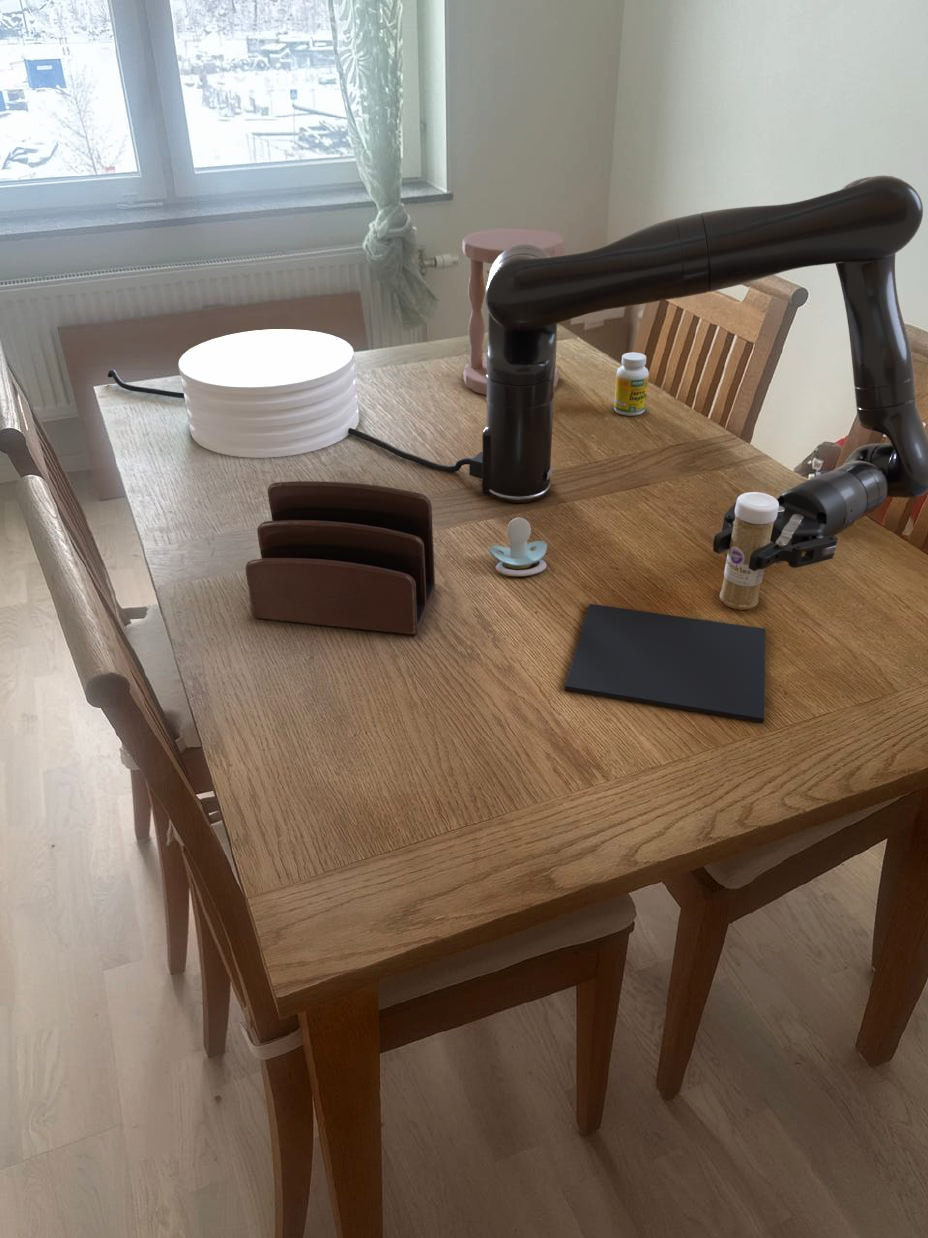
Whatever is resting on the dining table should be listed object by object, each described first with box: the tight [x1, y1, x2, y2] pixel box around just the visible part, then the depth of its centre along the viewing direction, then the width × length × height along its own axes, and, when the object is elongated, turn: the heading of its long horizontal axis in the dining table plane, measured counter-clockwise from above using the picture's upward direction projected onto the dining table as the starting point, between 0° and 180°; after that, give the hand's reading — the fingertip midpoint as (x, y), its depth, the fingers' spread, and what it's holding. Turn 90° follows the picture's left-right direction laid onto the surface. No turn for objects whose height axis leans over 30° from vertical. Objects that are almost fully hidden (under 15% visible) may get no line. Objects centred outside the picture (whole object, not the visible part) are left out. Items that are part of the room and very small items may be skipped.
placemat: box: [564, 603, 766, 724], centre depth 100 cm, size 20×16×1 cm
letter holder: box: [245, 480, 436, 636], centre depth 105 cm, size 10×20×14 cm, turn 79°
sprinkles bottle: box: [719, 491, 779, 611], centre depth 106 cm, size 5×5×14 cm
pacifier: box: [488, 517, 548, 577], centre depth 115 cm, size 7×6×6 cm
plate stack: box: [177, 328, 360, 459], centre depth 152 cm, size 28×28×12 cm
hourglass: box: [461, 227, 567, 396], centre depth 163 cm, size 18×18×25 cm
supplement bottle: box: [613, 351, 650, 417], centre depth 156 cm, size 5×5×10 cm
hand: (734, 554), depth 104 cm, fingers closed on sprinkles bottle, 4 cm apart
